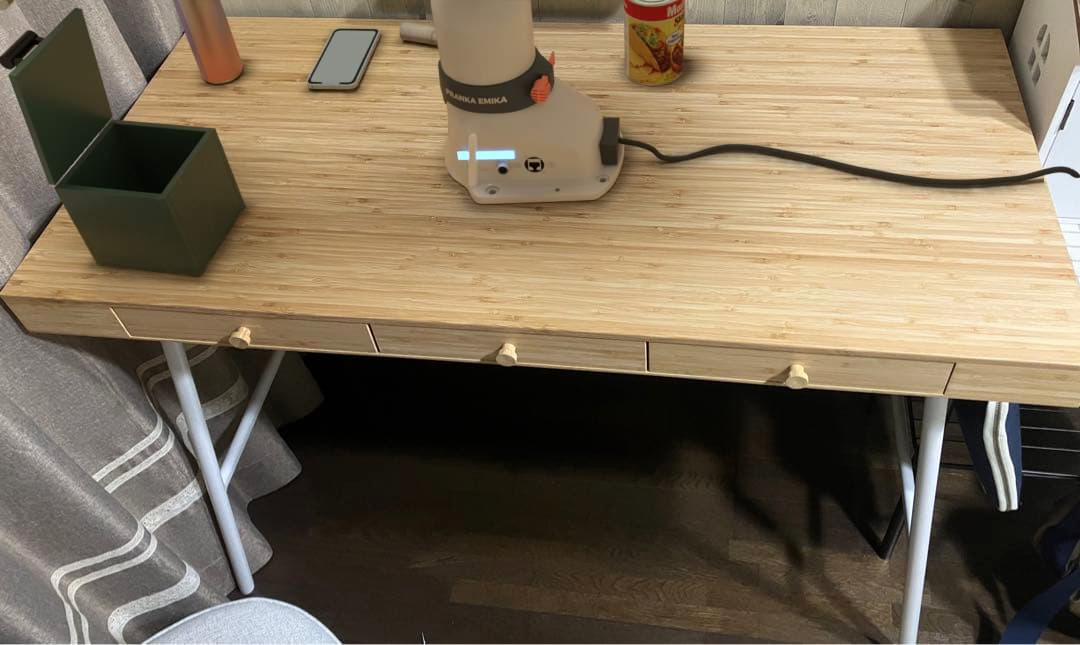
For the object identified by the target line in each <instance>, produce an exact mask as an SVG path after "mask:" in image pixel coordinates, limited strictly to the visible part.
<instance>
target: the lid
mask: <svg viewBox="0 0 1080 645" xmlns="http://www.w3.org/2000/svg"><path fill="white" fill-rule="evenodd" d="M0 66H2V67H3V68H4V69H5V70H10V72H9V73H8V74H7V77H8V79H9V82H10V84H11V87H12V90H13V93H14V95H15V99H17V100H16V101H17V104H18V105H19V109H20V111H21V113H22V116H23V119H24V122H25V124H26V128H27V130H28V133H29V135H30V138H31V140H32V142H33V146H34V149H35V151H36V154H37V157H38V159H39V162H40V165H41V167H42V170H43V173H44V176H45V178H46V181H47V184H48V185H51V186H52V185H53V186H56V185H57V184H58V183H59V182H60V180H61V179H62V178H63V177H64V176H65V174H66V173H67V172H68V171H69V170H70V169H71V167H72V166H73V165H74V164H75V163H76V161H77V160H78V159H79V158H80V157H81V155H82V154H83V153H84V152H85V151H86V149H87V148H88V147H89V146H90V145H91V143H92V142H93V141H94V140H95V139H96V137H97V136H98V135H99V134H100V133H101V131H102V130H103V129H104V128H105V127H106V125H107V124H109V122H110V121H111V120H112V118H113V116H114V115H113V112H112V108H111V105H110V102H109V98H108V95H107V91H106V88H105V85H104V81H103V77H102V74H101V71H100V70H101V69H100V67H99V63H98V60H97V57H96V53H95V49H94V45H93V43H92V40H91V36H90V32H89V29H88V26H87V22H86V19H85V15H84V11H83V9H82V8H80V7H74V8H73V9H72V10H71V11H70V12H69V13H68V14H67V15H66V16H65V17H64V18H63V19H62V20H61V21H60V22H58V24H57V25H56V26H55V27H54V28H53V29H52V30H51V31H50V32H49V33H48V34H47V35H46V36H45V37H43V36H39V35H38V33H37V32H35V31H33V30H32V29H28V30H26V31H25V32H23V33H22V34H21V35H20V36H19V37H18V38H17V39H16V40H15V41H14V42H13V43H12V44H11V45H10V46H9V47H8V48H7V49H6V50H5V51H4V52H3V53H2V54H1V55H0ZM11 70H12V71H11Z"/></svg>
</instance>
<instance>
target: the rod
mask: <svg viewBox="0 0 1080 645" xmlns="http://www.w3.org/2000/svg"><path fill="white" fill-rule="evenodd" d="M399 38H400V39H401V40H403V41H409V42H416V43H421V44H427V45H433V46H438V44H437V39H436V33H435V27H434V25H429V24H423V23H417V22H414V21H413V22H412V21H407V20H404V21H403V22H401V23H400V26H399Z"/></svg>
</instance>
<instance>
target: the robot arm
mask: <svg viewBox="0 0 1080 645" xmlns="http://www.w3.org/2000/svg"><path fill="white" fill-rule="evenodd" d="M14 2H15V0H0V11H7V9H8V8H9V7H10V6H12V4H13V3H14ZM430 10H431V16H432V21H433V26H434V27H435V33H436V39H437V44H438V45H437V49H438V55H439V60H438V61H437V69H438V81H439V87H440V91H441V94H442V100H443V103H444V104H445V105H446V114H447V139H446V148H445V149H446V150H445V155H444V165H445V169H446V170H447V173H448V174H449V175H450V177H451V178H452V179H453V180H455V181H456V182H457V183H459V184H460V185H462V186H463V187H464V188H466V189H467V190H468V194H469V195H470V197H471V198H472V200H473V201H474V202H475V203H477V204H480V205H493V204H494V205H495V204H517V203H518V204H520V203H521V204H523V203H525V204H526V203H548V202H550V203H551V202H554V203H555V202H577V201H578V202H580V201H581V202H582V201H594V200H598V199H600V198H601V197H603V196H604V195H605V194H607V192H608V191H609V190H610V189H611V188H612V187H613V185H614V184H615V183H616V181H617V179H618V177H619V175H620V172H621V170H622V167H623V165H624V164H623V163H624V159H625V151H626V150H625V146H630V147H635V148H640V149H643V150H646V151H648V152H649V153H651V154H652V155H654V156H655V157H656V158H657V159H658V160H659V161H663V162H668V163H680V162H686V161H690V160H694V159H697V158H701V157H704V156H707V155H710V154H714V153H717V152H724V151H749V152H757V153H758V152H759V153H765V154H770V155H776V156H780V157H785V158H791V159H796V160H802V161H807V162H811V163H815V164H820V165H825V166H828V167H832V168H835V169H840V170H844V171H848V172H852V173H853V172H854V173H856V174H862V175H867V176H872V177H879V178H883V179H888V180H894V181H900V182H906V183H911V184H912V183H913V184H922V185H931V186H932V185H933V186H950V187H951V186H953V187H954V186H955V187H963V186H964V187H965V186H966V187H967V186H985V185H998V184H1011V183H1020V182H1025V181H1030V180H1033V179H1037V178H1041V177H1043V176H1048V175H1053V174H1059V173H1060V174H1067V175H1069V176H1071V177H1072V178H1074V179H1080V172H1078V171H1077V170H1075V169H1074V168H1071V167H1068V166H1064V165H1059V166H1058V165H1057V166H1050V167H1045V168H1043V169H1039V170H1036V171H1031V172H1028V173H1024V174H1019V175H1018V174H1017V175H1010V176H997V177H985V178H968V179H967V178H965V179H963V178H959V179H958V178H957V179H956V178H953V179H952V178H935V177H934V178H933V177H923V176H915V175H909V174H908V175H906V174H901V173H894V172H889V171H885V170H879V169H874V168H868V167H863V166H858V165H853V164H849V163H845V162H841V161H836V160H833V159H830V158H824V157H820V156H817V155H812V154H807V153H801V152H796V151H791V150H785V149H780V148H775V147H770V146H763V145H756V144H746V143H725V144H719V145H715V146H710V147H707V148H704V149H700V150H699V151H698V150H697V151H695V152H691V153H688V154H684V155H668V154H667V155H666V154H662V152H661V151H659V150H658V149H657V148H656V147H655V146H653V145H652V144H649V143H646V142H643V141H640V140H636V139H635V140H634V139H630V138H624V136H623V133H622V132H621V120H620V118H621V117H620V116H619V117H618V116H616V117H615V116H613V117H611V116H609V117H607V116H606V117H605V116H603V113H602V110H601V108H600V105H599V104H598V103H597V101H596V100H594V98H593V97H591V96H589V95H587V94H586V93H584V92H582V91H580V90H578V89H577V88H575V87H573V86H571V85H570V84H568V83H567V82H566V81H563V80H562V79H560V78H559V77H557V76H555V69H554V66H555V64H556V58H555V51H553V50H552V51H551V53H550V56H549V59H547V58H546V57H545V56H543V54H541V52H540V51H539V49H538V48H537V46H536V44H535V34H534V32H535V31H534V21H533V9H532V0H430Z"/></svg>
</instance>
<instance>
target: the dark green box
mask: <svg viewBox="0 0 1080 645" xmlns="http://www.w3.org/2000/svg"><path fill="white" fill-rule="evenodd" d="M53 189H54V191H55V192H56V195H57V196H58V198H59V200H60V202H61V203H62V205H63V206H64V209H65V210H66V212H67V214H68V216H69V217H70V219H71V221H72V223H73V225H74V226H75V228H76V230H77V231H78V234H79V235H80V237H81V239H82V241H83V242H84V245H85V246H86V247H87V249H88V251H89V253H90V255H91V256H92V258H93V260H94V262H95V264H96V265H97V266H104V267H105V266H106V267H113V268H121V269H130V270H137V271H138V270H139V271H146V272H155V273H162V274H172V275H180V276H189V277H198V278H200V277H202V275H203V274H204V272H205V270H206V269H207V267H208V265H209V264H210V262H211V261H212V260H213V258H214V256H215V255H216V253H217V251H218V250H219V248H220V247H221V246H222V244H223V242H224V241H225V239H226V237H227V236H228V234H229V232H230V231H231V229H232V228H233V226H234V225H235V223H236V222H237V220H238V219H239V217H240V215H241V214H242V212H243V211H244V209H245V207H246V203H245V201H244V198H243V196H242V193H241V190H240V187H239V185H238V182H237V181H236V177H235V175H234V173H233V170H232V167H231V165H230V162H229V159H228V157H227V155H226V151H225V149H224V147H223V143H222V141H221V139H220V137H219V133H218V130H217V129H216V127H206V126H195V125H184V124H172V123H171V124H170V123H159V122H147V121H137V120H125V119H112V118H111V119H110V121H109V122H108V123H107V124H106V125H105V127H104V128H103V129H102V130H101V131H100V133H99V134H98V135H97V136H96V137H95V138H94V140H93V141H92V142H91V143H90V144H89V146H88V147H87V148H86V149H85V150H84V152H83V153H82V154H81V155H80V156H79V158H78V159H77V160H76V161H75V162H74V164H73V165H72V166H71V167H70V168H69V170H68V171H67V172H66V173H65V174H64V175H63V177H62V178H61V179H60V180H59V181H58V183H57V184H56V185H54V188H53Z"/></svg>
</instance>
